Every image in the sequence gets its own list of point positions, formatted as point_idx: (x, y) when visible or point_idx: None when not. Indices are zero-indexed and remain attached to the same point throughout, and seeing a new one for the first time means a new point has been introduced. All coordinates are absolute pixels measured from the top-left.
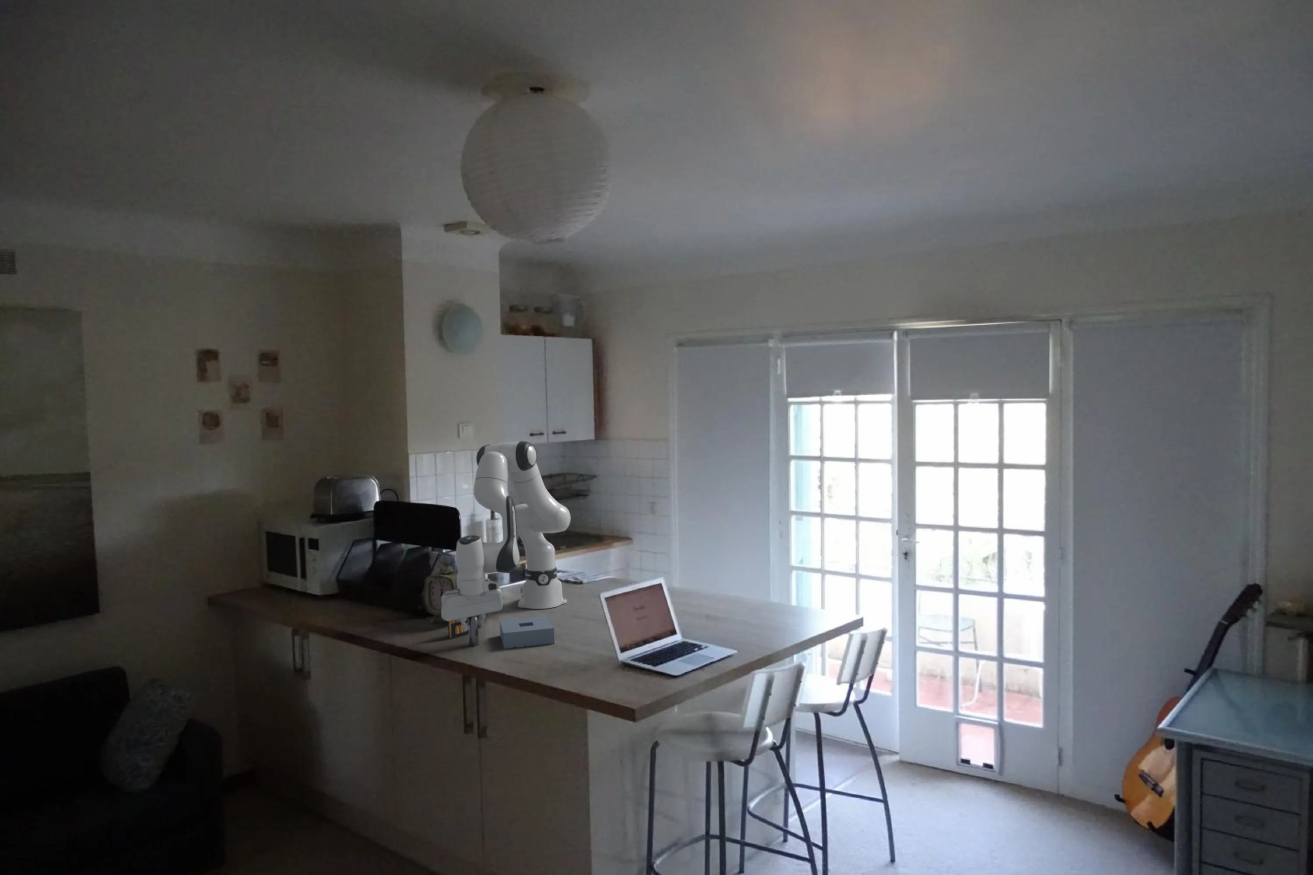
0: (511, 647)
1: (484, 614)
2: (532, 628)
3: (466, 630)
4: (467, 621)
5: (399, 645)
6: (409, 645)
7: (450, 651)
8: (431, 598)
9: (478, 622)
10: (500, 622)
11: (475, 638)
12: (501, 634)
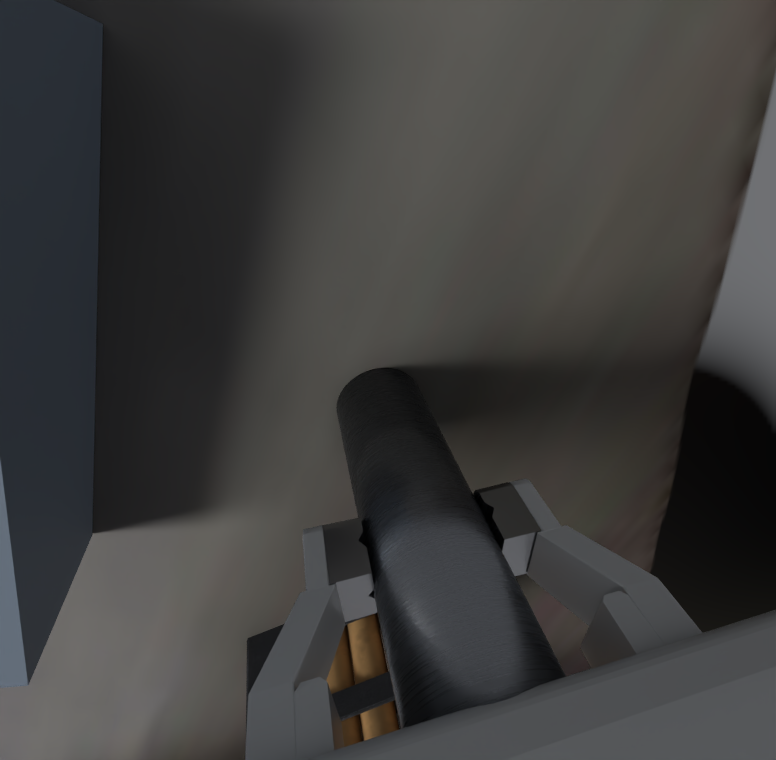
0: None
1: (270, 748)
2: None
3: (519, 482)
4: None
5: (647, 556)
6: (627, 543)
7: (592, 340)
8: None
9: (353, 604)
10: (17, 644)
11: (395, 411)
12: (67, 440)
